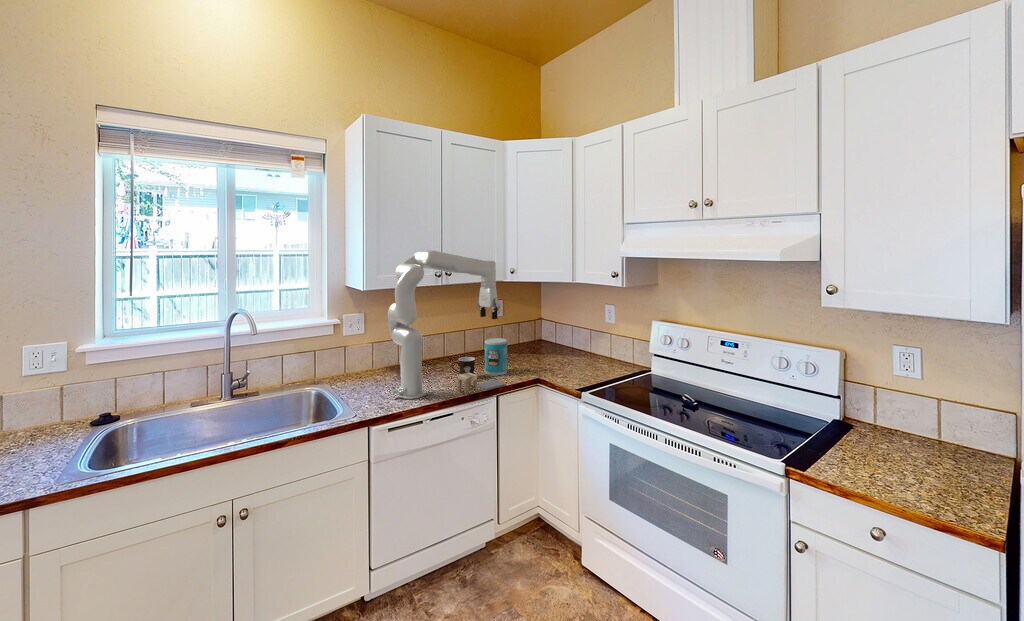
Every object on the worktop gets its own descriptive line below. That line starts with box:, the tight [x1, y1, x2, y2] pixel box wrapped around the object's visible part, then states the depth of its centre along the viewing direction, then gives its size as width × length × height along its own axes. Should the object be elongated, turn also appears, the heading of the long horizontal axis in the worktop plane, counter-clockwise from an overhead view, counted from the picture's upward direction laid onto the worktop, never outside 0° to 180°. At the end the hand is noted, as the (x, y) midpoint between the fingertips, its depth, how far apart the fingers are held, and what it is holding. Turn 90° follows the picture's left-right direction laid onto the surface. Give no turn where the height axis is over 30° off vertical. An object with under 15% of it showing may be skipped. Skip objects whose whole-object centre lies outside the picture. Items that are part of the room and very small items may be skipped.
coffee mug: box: [450, 356, 476, 375], centre depth 233 cm, size 12×9×10 cm
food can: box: [484, 337, 508, 377], centre depth 241 cm, size 12×12×18 cm
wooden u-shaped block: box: [457, 373, 478, 395], centre depth 210 cm, size 6×6×8 cm
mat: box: [477, 379, 507, 391], centre depth 220 cm, size 12×9×1 cm
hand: (488, 317), depth 231 cm, fingers open, 9 cm apart
